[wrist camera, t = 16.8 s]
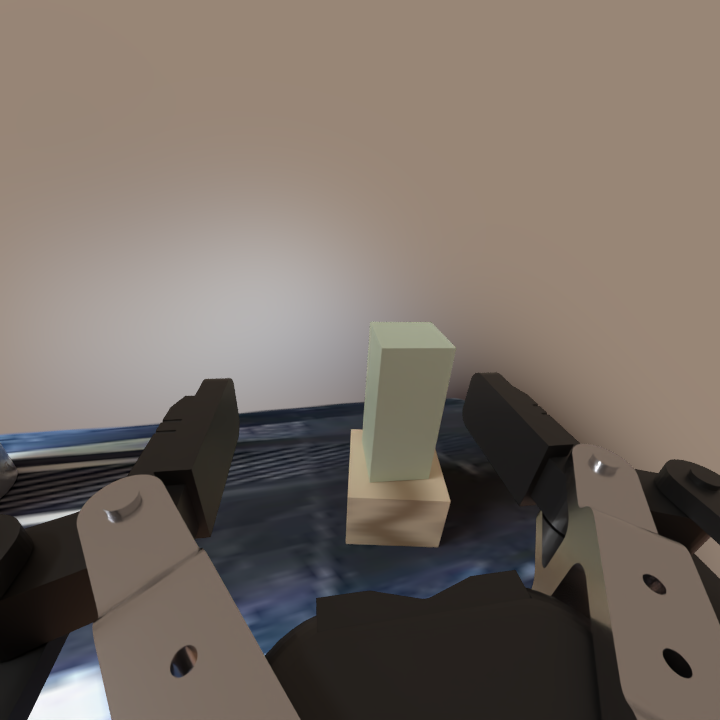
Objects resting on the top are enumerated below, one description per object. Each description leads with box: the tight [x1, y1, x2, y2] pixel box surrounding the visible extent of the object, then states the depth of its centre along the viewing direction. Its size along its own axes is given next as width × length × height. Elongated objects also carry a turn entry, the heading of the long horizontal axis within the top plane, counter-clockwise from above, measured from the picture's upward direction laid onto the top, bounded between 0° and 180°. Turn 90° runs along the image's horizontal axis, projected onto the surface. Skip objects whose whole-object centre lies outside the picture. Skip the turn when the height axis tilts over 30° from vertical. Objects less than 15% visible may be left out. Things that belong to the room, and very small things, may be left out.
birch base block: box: [346, 429, 451, 547], centre depth 29 cm, size 8×8×6 cm
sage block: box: [362, 322, 456, 482], centre depth 25 cm, size 5×5×12 cm
